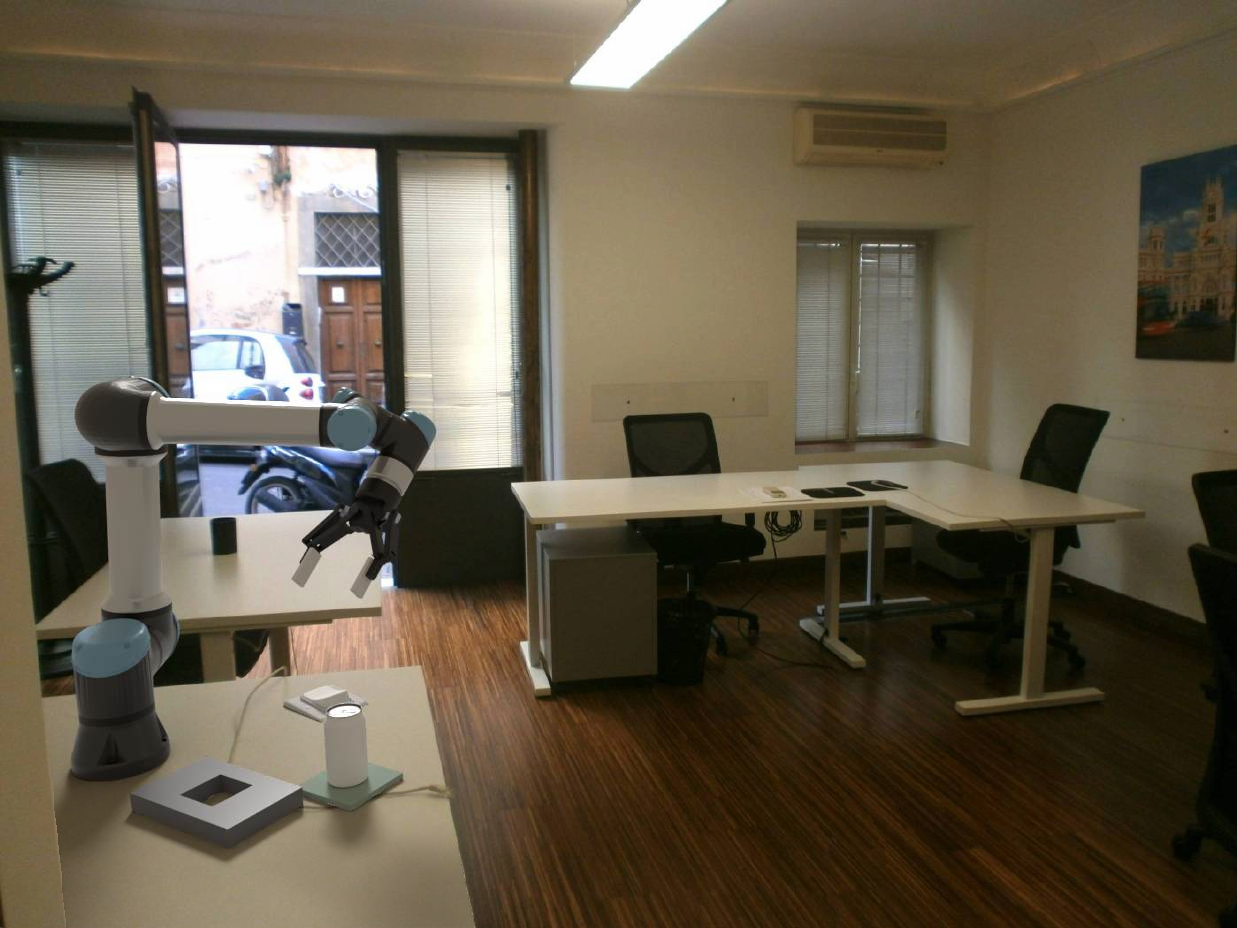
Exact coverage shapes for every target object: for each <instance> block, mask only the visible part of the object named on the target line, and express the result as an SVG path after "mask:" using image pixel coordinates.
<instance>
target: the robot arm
mask: <svg viewBox="0 0 1237 928" xmlns="http://www.w3.org/2000/svg"><path fill="white" fill-rule="evenodd" d="M74 423H75V426H76V428H77V430H78V432H79V434H80V435H81V436H82V437H83V438H84V440H85V441H86V442H88V443H89V444H91V446H93V447H94V449H93V450H94V456H95V457H97V458H98V459H99V460H100V461H101V462H103V464H104V477H105V500H106V505H105V506H106V523H107V525H106V526H107V527H106V528H107V551H108V553H107V555H108V575H109V576H108V577H109V580H108V581H109V595H108V596H107V597H105V599H104V600H103V601H102V602H101V604H100V611H101V612H100V615H101V619H100V620H101V621H100V622H97V623H96V624H95V625H88V626H87V627H86V628H84V629H82V630H81V631H80V632H79V633H78V634H76V636H75V637H74V638H73V641H72V644H71V665H72V669H73V679H74V687H75V688H74V689H75V697H76V706H77V707H76V708H77V713H78V728H77V731H76V736H75V740H74V743H73V748H72V752H71V756H70V767H71V768H70V769H71V772H72V774H73V775H74V776H75V777H77V778H79V779H82V780H85V781H98V780H99V781H113V780H118V779H125V778H127V777H128V778H129V777H132V776H135V775H139V774H141V773H144V772H147V771H149V770H152V769H153V768H155V767H157V766H159V765H160V764H162V763H164V762H165V760H167V759H168V757H169V756H170V753H171V743H170V737H169V734H167V731H166V729H165V726H164V725H163V723H162V721H161V718H160V717H159V715H158V712H157V710H156V702H155V689H154V687H155V686H154V676H155V674H156V673H157V672H158V671H159V670H160V668H162V666H163V665H164V663H165V662H166V661H167V660H168V659H169V658H170V657H171V656H172V654H173V653H174V651H175V649H176V647H177V644H178V641H179V638H180V624H179V623H180V622H179V620H178V618H177V616H176V614H175V612H174V611H173V598H172V597H171V595H169V594H168V593H166V591H164V589H163V563H162V562H163V561H162V558H163V557H162V527H161V526H162V525H161V498H160V497H161V495H160V493H161V490H160V462H161V461H162V459H163V458H165V456H167V455H168V451H169V448H168V444H169V445H170V444H171V445H207V446H208V445H211V446H212V445H213V446H214V445H216V446H261V447H262V446H265V447H267V446H268V447H305V448H306V447H309V448H310V447H311V448H313V447H314V448H315V447H317V448H320V447H321V448H332V449H334V448H335V449H337V448H338V449H340V450H342V451H345V452H346V451H347V452H356V451H360V450H363V449H364V448H366V447H367V446H368V447H370V448H371V449H372V450H374V451H377V452H378V455H377V457H376V458H375V460H374V462H373V463H372V465H371V466H370V468H369V470H368V471H367V473H366V474H365V476H366V478H364V479H363V480H362V481H361V484H360V485H359V487H358V489H357V490H356V493H355V502H354V503H353V504H352V505H351V506H348V505H346V504H345V503H344V502H342V501H340V502H338V504H337V505H336V506H335V508H333V510H332V512H330V513H329V514H328V515H327V516H326V517H325V518H324V519H323V520H322V521H320V522H319V524H316V526H315V527H314V528H313V529H311V531H309V532H308V533H307V534H306V535H305V536H304V537H303V538H302V539H301V543H302V544H304V545H305V547H306V549H305V551H304V553H303V555H302V557H301V558H300V560H299V562H298V563H299V565H298V567H297V569H296V570H295V572H294V573H293V575H292V577H291V580H292V582H294V583H295V584H297V586H299V587H300V588H304V587H305V586H306V584H307V582H308V580H309V579H310V577H311V576H312V573H313V572H314V570H315V569H316V567H317V565H318V564H319V561H320V560H321V558H322V556H323V555H322V554H321V553H322V552H323V551H325V550H327V549H328V548H329V547H331V546H332V545H334V544H335V543H337V542H338V541H340V540H341V539H343V538H345V536H347V535H353V534H354V533H358V534H359V533H364V534H365V535H369V539H370V545H371V551H372V553H371V556H372V557H371V556H368V557H366V558H367V559H366V560H365V562H364V564H363V566H362V568H361V569H360V571H359V573H358V575H357V577H356V578H355V580H354V582H353V584H352V585H351V587H350V589H349V591H350V592H352V594H353V595H355V596H356V598H358V599H363V598H364V596H365V595H366V592H367V590H368V589H369V587H370V585H371V583H372V582H373V581H375V580H376V579H377V577H378V575H379V573H380V571H381V570H382V568H383V566H385V565H386V564H389V563H390V564H395V563H396V562H397V560H398V550H399V549H398V547H399V537H400V527H401V525H402V524H403V523H402V522H403V520H404V517H403V516H402V515H401V514H400V513H399V511H398V510H397V508H398V506H399V504H400V502H401V500H402V497H403V496H404V495H405V492H407V489H408V487H409V486H410V484H411V482H412V480H413V479H414V477H415V475H416V473H417V471H418V470H419V468H420V467H421V465H422V463H423V461H424V460H425V458H426V456H427V454H428V452H429V450H430V449H431V446H432V444H433V442H434V440H435V438H436V436H437V435H436V434H437V428H436V425H435V423H434V422H433V421H432V420H431V419H430V417H428V416H426V415H425V414H423V413H421V412H419V413H418V412H417V411H414V410H406V411H404V412H402V414H401V415H400V416H399V415H398V414H395V413H392V412H391V411H389V410H387V409H386V408H385V407H382V406H381V405H379V404H377V403H376V402H374V401H373V400H371V399H369V398H367V397H366V396H365V395H362V393H360V392H357V391H354V390H353V389H351V388H349V387H348V386H342V387H340V388H339V389H338V391H337V392H336V394H334V396H333V398H332V399H331V401H330V402H327V403H322V402H299V401H298V402H295V401H293V402H292V401H269V400H268V401H266V400H239V399H236V400H235V399H232V400H231V399H211V398H209V399H206V398H205V399H203V398H181V397H180V398H179V397H177V398H175V397H171V396H170V395H169V393H168V392H167V391H166V390H165V389H164V387H163V386H162V385H160V384H159V383H157V382H156V381H154V380H152V379H150V378H146V377H141V376H131V375H130V376H121V377H118V378H115V379H112V380H109V381H101V382H100V383H96V384H95V385H94V384H93V385H92V386H91V387H89V388H88V389H87V390H85V391H84V392H83V393H82V394H81V395H80V397H79V398H78V400H77V402H76V405H75V408H74ZM384 524H385V531H384V532H383V527H382V526H383V525H384ZM383 537H384V538H383ZM112 779H113V780H112Z"/></svg>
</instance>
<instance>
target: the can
mask: <svg viewBox="0 0 1237 928" xmlns="http://www.w3.org/2000/svg"><path fill="white" fill-rule="evenodd" d="M326 714H327V715H326V717H325V719H324V722H323V730H324V731H323V735H324V747H325V748H324V750H325V752H324V753H325V766H326V767H325V768H326V769H325V770H326V771H327V781H328V783H329V784H330V785H331V786H333V787H336V788H351V787H355V786H357V785H360V784H361V783H363V782H364V781H365V780H366V778H367V777H368V763H369V760H368V759H369V758H368V745H367V744H368V742H367V741H368V740H367V739H368V738H367V726H366V725H367V724H366V723H367V721H366V715H365V713H364V712H363V707H362V706H361V705H359V704H356V703H341V704H337V705H334V706H331V707H330V708H328V709H327V711H326Z"/></svg>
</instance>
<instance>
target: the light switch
mask: <svg viewBox="0 0 1237 928" xmlns="http://www.w3.org/2000/svg"><path fill="white" fill-rule="evenodd" d="M341 703H356V704H359V705H361V706H362V708H363V707H366V706H368V705H369V702H368V701H367V700H366V699H363V698H362V697H359V696H357V695H355V694H353V693H351V692H349V691H348V690H347V689H344V688H340V687H338V686H336V685H335V684H333V683H331V684H328V685H324V686H323V685H322V686H318V687H316V688H315V689H311V690H309V691H306V692H304V693H302V694H300V695H298V696H295V697H292V698H290V699H287V700H285V701H284V702H283V706H284V707H286V708H287V709H290V710H292V711H294V712H296V711H297V712H296V713H298V712H299V714H301V715H303V714H304V715H303V716H305V715H306V716H305V717H308V718H309V719H312V718H313V719H312V720H314V719H316V720H315V721H317V720H318V721H317V722H319V723H324V719H325V717H326V715H327V714H326V711H327V709H328V708H330V707H331V706H334V705H337V704H341ZM365 705H366V706H365Z"/></svg>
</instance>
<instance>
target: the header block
mask: <svg viewBox="0 0 1237 928" xmlns="http://www.w3.org/2000/svg"><path fill="white" fill-rule="evenodd" d="M298 785H299V784H298ZM298 785H297V784H294V783H291V782H289V781H286V780H285V781H284V780H282V779H279V778H275V777H273V776H270V775H266V774H263V773H260V772H258V771H254V770H251V769H249V768H245V767H242V766H239V765H236V764H233V763H229V762H227V761H224V760H220V759H218V758H213V757H211V756H204V757H202V758H200V759H198V760H195V761H193V762H192V763H190V764H187V765H186V766H185V765H184V766H183V767H181V768H180V769H177V770H175V771H173V772H171V773H169V774H167V775H165V776H163V777H161V778H158V779H157V780H154V781H152V782H150V783H148V784H146V785H144V786H142V787H140V788H138V789H137V788H136V790H133V791H131V792H129V796H130V797H129V798H130V807H131V812H133V811H135V812H137V813H136V814H138V813H139V815H141V814H142V815H141V816H144V817H147V818H148V819H151V820H154V821H156V822H159V823H162V824H164V825H168V826H170V827H172V828H173V829H177V830H179V831H183V832H184V833H187V834H190V835H193V836H195V837H198V838H200V839H203V840H206V841H208V842H210V843H213V844H216V845H219V846H221V847H223V848H227V849H231V848H233V847H235V846H236V845H238V844H240V843H241V842H243V841H245V840H246V839H249V838H250V837H251V836H253V835H255V834H256V833H259V832H260V831H262V830H264V829H265V828H267V827H268V826H270V825H272V824H274V823H276V822H277V821H278V820H280V819H282V818H283V817H286V816H287V815H289V814H291V813H292V812H294V811H295V810H297V809H298V808H300V806H301V807H302V806H304V796H303V790H302V787H301V786H298ZM220 793H225V794H227V795H229V796H231V797H229V798H228V797H227V798H226V799H224V800H222V801H221V802H219V803H217V804H215V805H213V806H211V805H208V804H206V803H203V802H206V801H207V800H208V798H209V797H211V796H213V795H214V796H217V795H218V794H220ZM233 795H234V796H233ZM214 796H213V797H214ZM211 798H212V797H211ZM209 799H210V798H209ZM135 812H134V813H135Z"/></svg>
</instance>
